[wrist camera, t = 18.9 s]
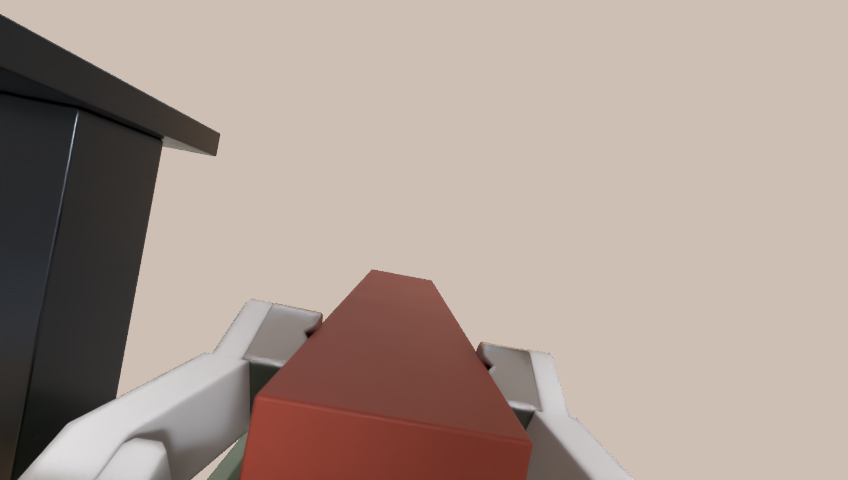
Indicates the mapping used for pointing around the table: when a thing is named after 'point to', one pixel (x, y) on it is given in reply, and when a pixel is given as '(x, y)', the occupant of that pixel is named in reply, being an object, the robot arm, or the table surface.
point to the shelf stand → (70, 231)
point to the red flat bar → (385, 398)
